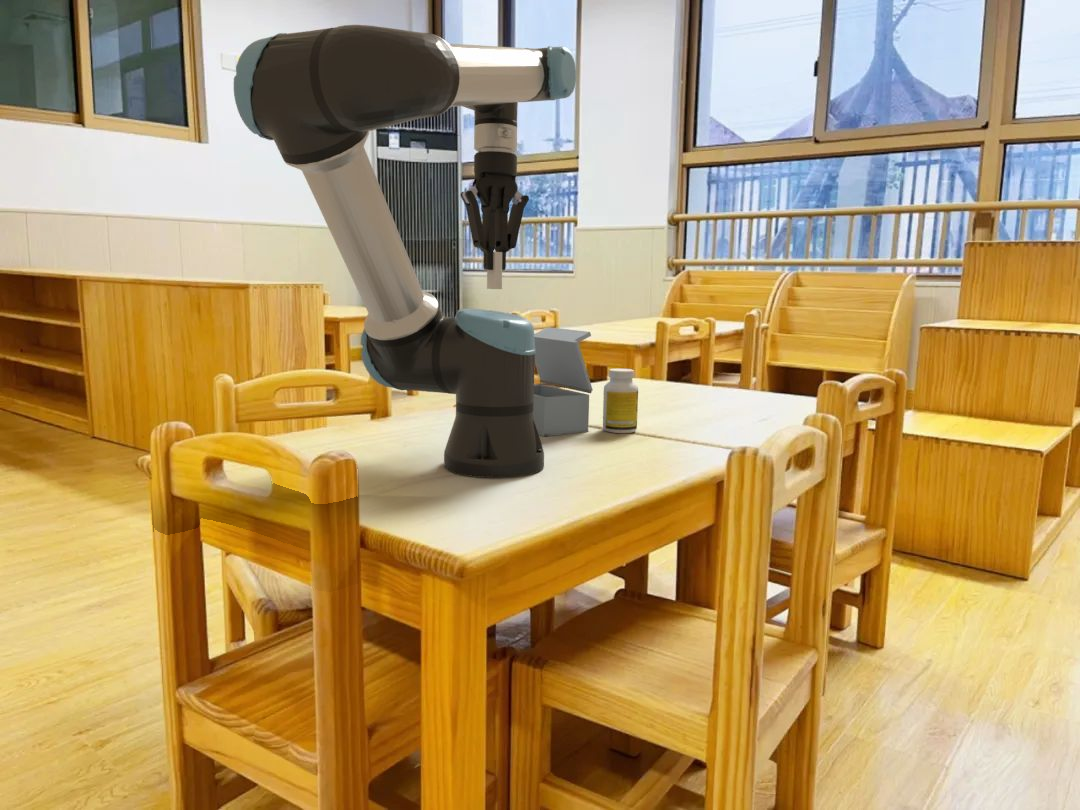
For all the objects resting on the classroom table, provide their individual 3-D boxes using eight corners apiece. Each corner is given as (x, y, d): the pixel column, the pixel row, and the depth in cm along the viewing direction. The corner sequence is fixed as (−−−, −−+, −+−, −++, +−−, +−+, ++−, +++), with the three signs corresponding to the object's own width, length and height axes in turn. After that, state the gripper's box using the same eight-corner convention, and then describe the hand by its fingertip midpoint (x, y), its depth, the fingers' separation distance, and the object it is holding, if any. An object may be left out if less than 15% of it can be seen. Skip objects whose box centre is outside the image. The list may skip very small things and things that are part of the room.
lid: (574, 343, 147) (594, 332, 149) (524, 336, 160) (544, 326, 162) (589, 393, 150) (609, 382, 152) (540, 383, 164) (558, 372, 166)
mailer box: (543, 436, 146) (544, 398, 145) (498, 422, 159) (499, 387, 158) (588, 431, 152) (589, 394, 151) (540, 418, 165) (541, 384, 164)
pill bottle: (638, 434, 150) (640, 372, 148) (603, 433, 150) (605, 371, 148) (635, 428, 156) (637, 368, 155) (601, 427, 157) (603, 367, 155)
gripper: (473, 146, 135) (472, 289, 139) (538, 154, 142) (536, 289, 146) (452, 151, 141) (452, 288, 145) (516, 158, 148) (514, 288, 152)
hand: (494, 288), depth 145 cm, fingers closed
